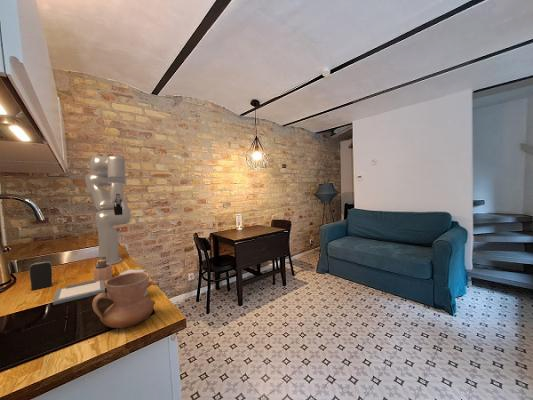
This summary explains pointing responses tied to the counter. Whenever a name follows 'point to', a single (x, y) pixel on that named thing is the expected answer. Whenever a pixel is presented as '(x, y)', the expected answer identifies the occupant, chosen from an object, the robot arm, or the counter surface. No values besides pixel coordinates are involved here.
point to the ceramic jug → (126, 300)
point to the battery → (41, 275)
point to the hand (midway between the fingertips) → (118, 213)
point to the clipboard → (79, 291)
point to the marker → (102, 262)
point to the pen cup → (103, 273)
